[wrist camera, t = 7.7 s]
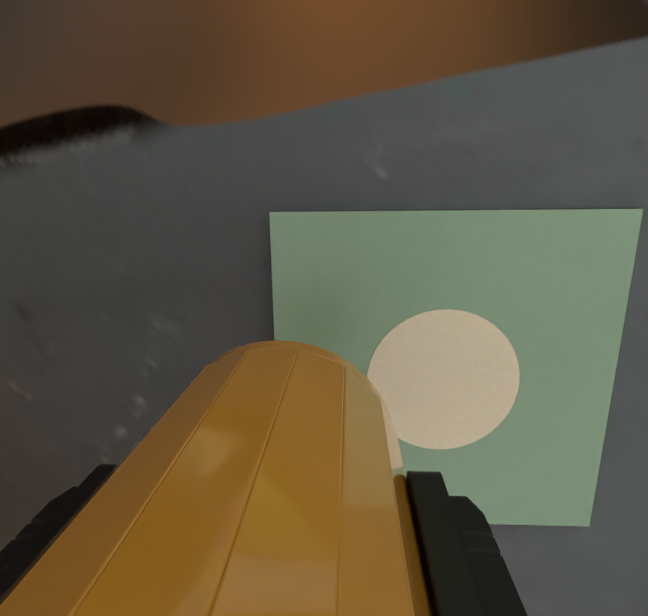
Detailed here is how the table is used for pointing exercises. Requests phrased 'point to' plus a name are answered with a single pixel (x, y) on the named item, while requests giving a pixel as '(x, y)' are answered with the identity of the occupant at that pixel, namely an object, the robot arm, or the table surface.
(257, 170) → the table surface
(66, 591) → the cup
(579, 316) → the mat
